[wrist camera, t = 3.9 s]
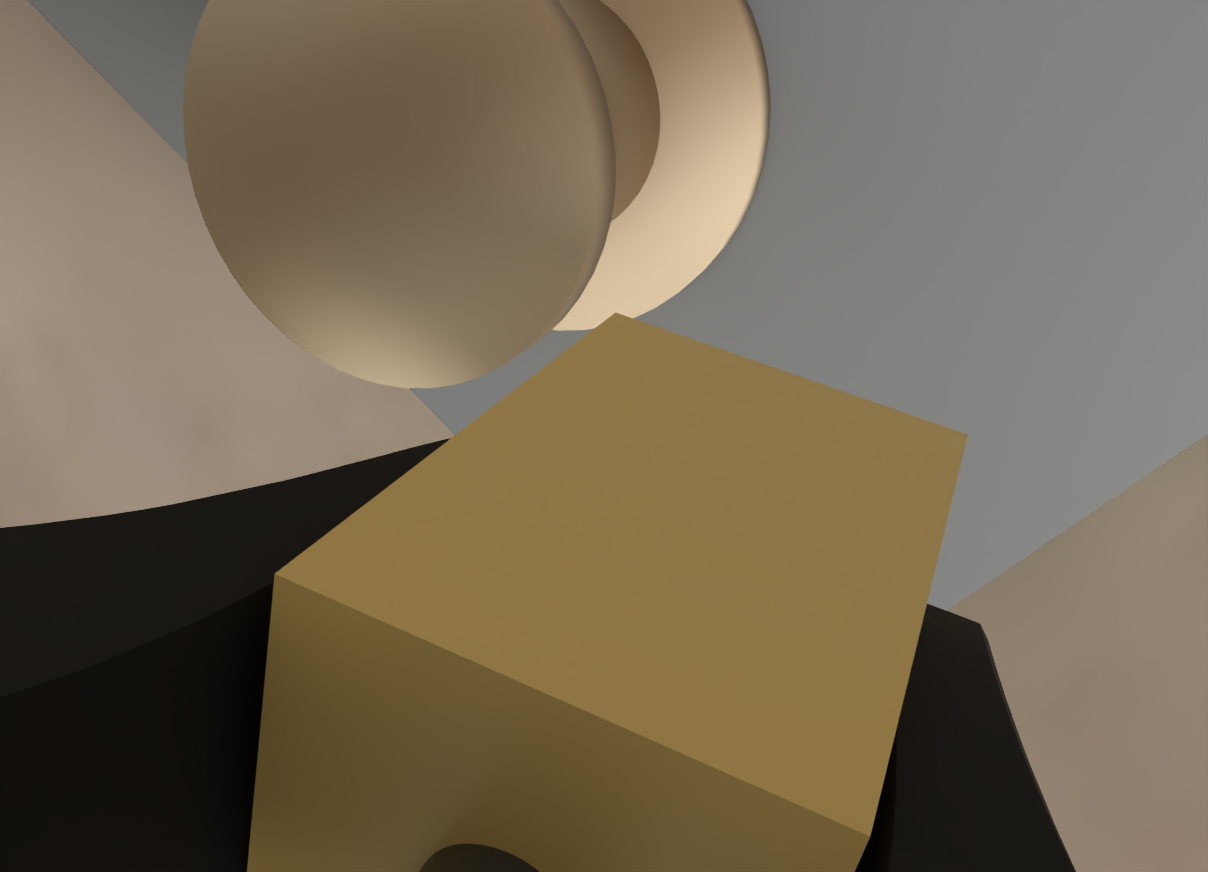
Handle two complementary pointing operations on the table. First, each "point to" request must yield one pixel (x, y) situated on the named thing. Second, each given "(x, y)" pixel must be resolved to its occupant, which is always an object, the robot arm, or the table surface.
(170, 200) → the table surface
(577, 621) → the yellow block with knob
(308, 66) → the bobbin
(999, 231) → the board
